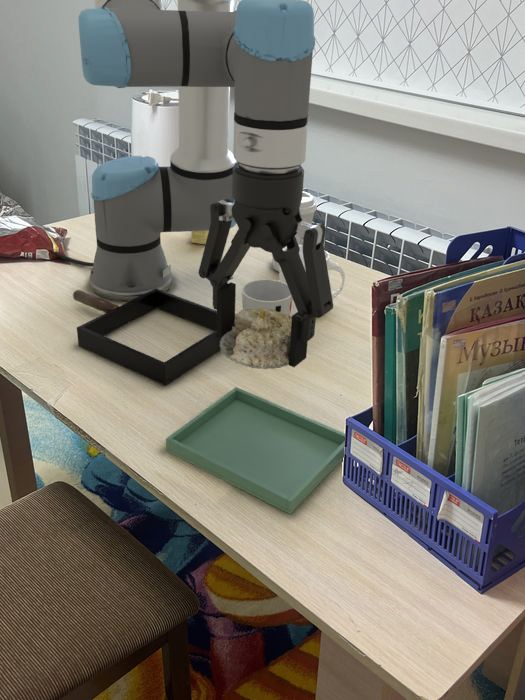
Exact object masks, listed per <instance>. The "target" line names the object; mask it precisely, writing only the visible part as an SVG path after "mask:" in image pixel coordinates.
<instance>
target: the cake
mask: <svg viewBox="0 0 525 700" xmlns="http://www.w3.org/2000/svg"><path fill="white" fill-rule="evenodd" d="M234 321H235V323H234V324H235V327H234V326H232V330H231V331H230V332H227V333H226V334H225V335H224V336H223V337H222V338H221V341H220V345H219V346H220V347H221V350H220V351H221V352H222V354H223V355H224V356H225V357H226V358H227V359H228V360H230V361H231V362H234V363H236V364H238V365H241V366H243V367H246V368H247V367H248V368H251V369H256V370H257V369H258V370H260V369H261V370H271V369H272V370H274V369H275V370H276V369H281V368H283V367H287V366H289V353H290V338H291V323H292V317H291V316H289V315H287V316H286V314H283V313H282V312H276V311H274V309H269V310H267V309H266V308H262V309H250V308H249V309H245V310H243V309H241V310H240V311H238V312H237V313H235V320H234Z"/></svg>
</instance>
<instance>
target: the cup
mask: <svg viewBox="0 0 525 700" xmlns="http://www.w3.org/2000/svg"><path fill="white" fill-rule="evenodd" d="M241 301H242V310H245V309H249V308H250V309H262V308H266V309H267V310H269V309H274V311H276V312H282V313H283V314H286V316H287V315H289V316H290V313H291V305H292V296H291V293H290V290H289V288H288V285H287V284H286V283H284V282H281V281H279V280H276V279H266V278H265V279H256V280H251V281H249V282H247V283H245V284H244V285H242V287H241ZM290 317H291V316H290Z"/></svg>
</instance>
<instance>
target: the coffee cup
mask: <svg viewBox="0 0 525 700" xmlns="http://www.w3.org/2000/svg"><path fill="white" fill-rule="evenodd" d="M317 210H318V205H317V203H316V200H315V197H314V196H313V194H312V193H309V192H307V191H304V190H303V195H302V201H301V204H300V215H301V218H302V221H303V222H306V223H309V224H311V225H313V220H314V214H315V212H316V211H317ZM295 238H296V240H297V243H298V245H303V244H301V243H300V239H301V238H300V235H299V234H298V233H297V234H296V235H295ZM286 247H287V246H285V247H284V248H286ZM284 248H282V249H284ZM271 256H272V269H273V270H274V271H276V272H278V273H279V270H280V265H279V263H278V262H276V261H275V260H274V258H273V255H272V254H271Z"/></svg>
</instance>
